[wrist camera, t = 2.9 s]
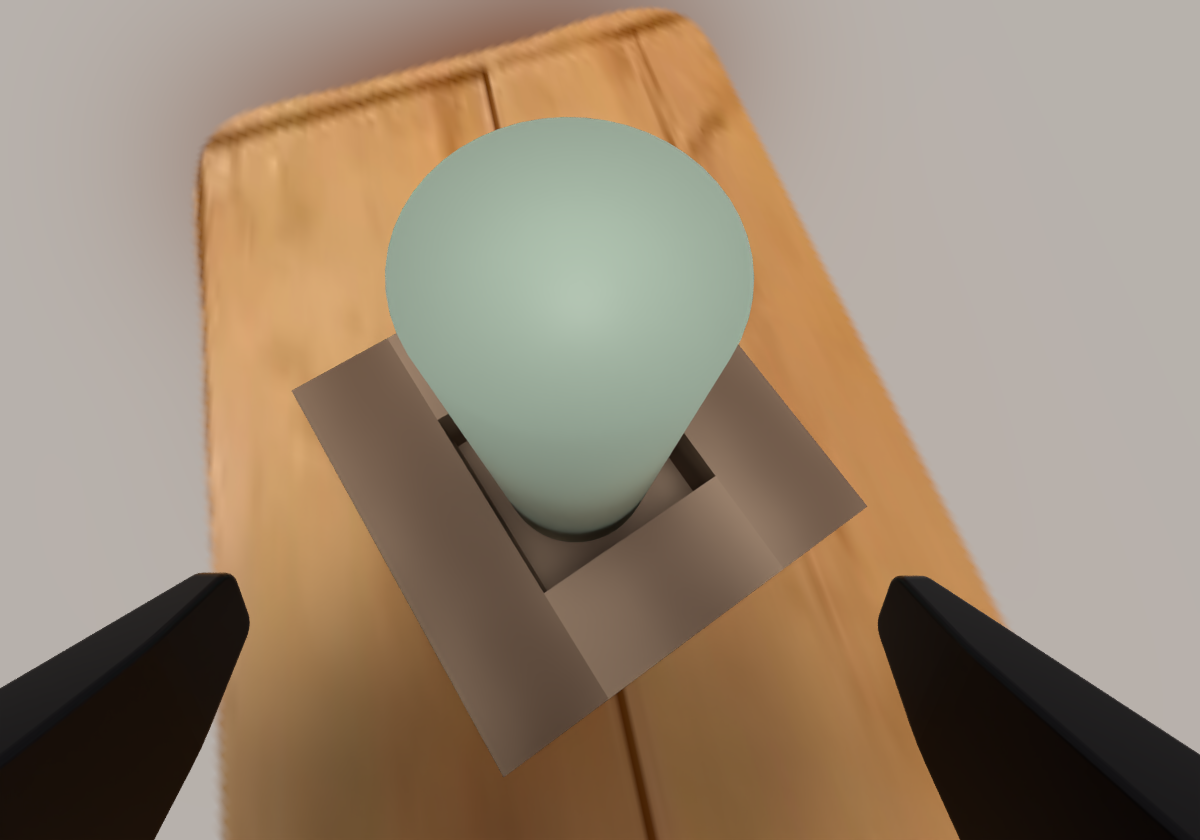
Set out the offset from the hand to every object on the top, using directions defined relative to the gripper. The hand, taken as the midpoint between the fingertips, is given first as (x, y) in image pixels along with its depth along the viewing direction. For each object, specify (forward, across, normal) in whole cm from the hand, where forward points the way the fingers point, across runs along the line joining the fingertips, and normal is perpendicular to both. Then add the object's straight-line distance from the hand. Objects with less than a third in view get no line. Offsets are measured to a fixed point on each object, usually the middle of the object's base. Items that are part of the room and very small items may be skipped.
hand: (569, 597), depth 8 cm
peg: (+10, 0, +5) cm, 12 cm away
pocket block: (+11, 0, +5) cm, 12 cm away
